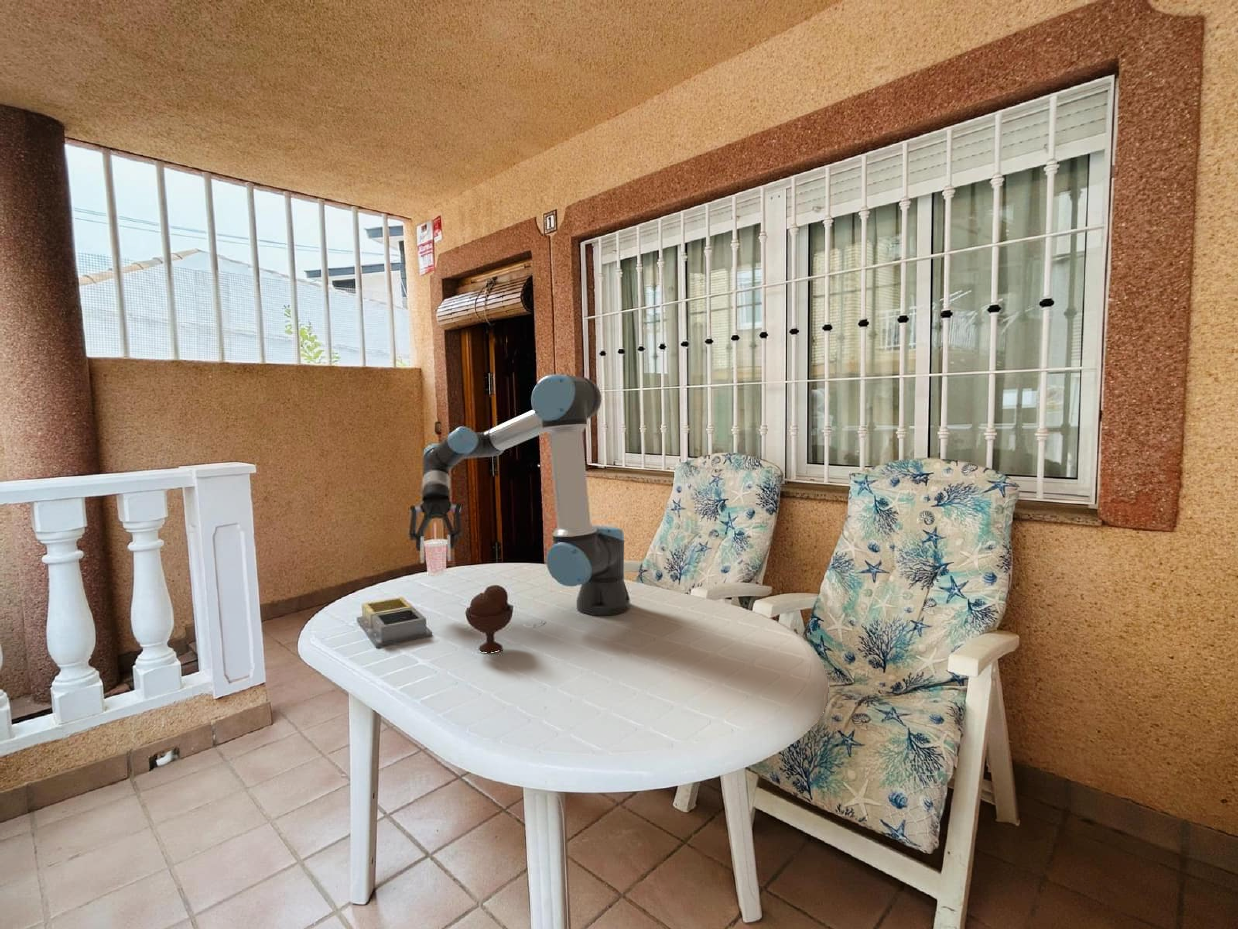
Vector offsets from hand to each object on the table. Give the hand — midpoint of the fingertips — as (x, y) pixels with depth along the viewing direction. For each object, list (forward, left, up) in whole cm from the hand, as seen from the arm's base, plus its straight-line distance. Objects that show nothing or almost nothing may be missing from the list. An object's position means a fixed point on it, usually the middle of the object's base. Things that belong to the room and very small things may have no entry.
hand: (435, 559), depth 151 cm
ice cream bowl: (-26, -4, -17) cm, 31 cm away
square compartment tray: (+1, +11, -17) cm, 20 cm away
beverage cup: (+3, -1, -5) cm, 6 cm away
